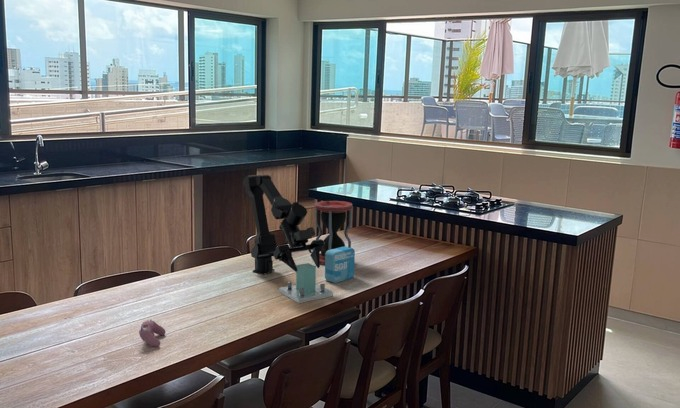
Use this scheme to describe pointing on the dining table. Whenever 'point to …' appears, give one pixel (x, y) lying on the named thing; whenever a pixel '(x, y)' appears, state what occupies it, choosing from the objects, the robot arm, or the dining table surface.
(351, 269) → the blue printed box
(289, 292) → the plate
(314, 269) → the module box
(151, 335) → the video game controller
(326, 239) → the hourglass
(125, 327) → the dining table surface
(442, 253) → the dining table surface
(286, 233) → the robot arm
